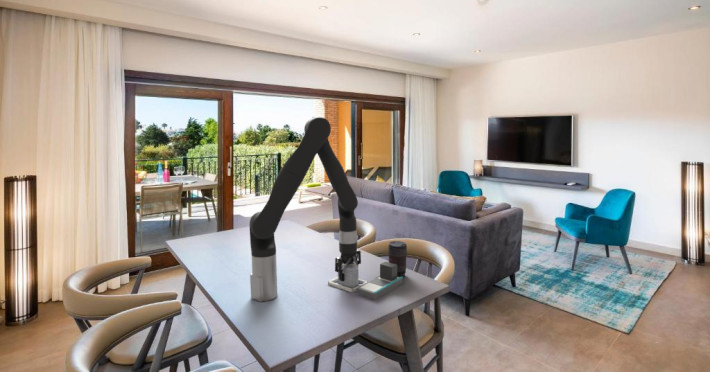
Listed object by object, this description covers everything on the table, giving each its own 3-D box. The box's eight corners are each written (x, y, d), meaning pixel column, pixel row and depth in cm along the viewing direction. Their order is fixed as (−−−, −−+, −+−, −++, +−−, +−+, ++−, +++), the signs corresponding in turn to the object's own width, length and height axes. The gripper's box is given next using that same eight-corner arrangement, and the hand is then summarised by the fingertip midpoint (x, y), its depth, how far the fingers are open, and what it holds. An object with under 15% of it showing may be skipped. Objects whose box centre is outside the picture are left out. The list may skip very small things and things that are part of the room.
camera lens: (385, 277, 162) (385, 244, 160) (392, 271, 169) (392, 239, 167) (402, 280, 158) (403, 247, 156) (408, 274, 165) (409, 242, 163)
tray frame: (352, 292, 146) (352, 290, 146) (327, 284, 154) (327, 281, 154) (368, 284, 154) (368, 281, 154) (344, 276, 162) (344, 274, 162)
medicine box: (358, 284, 154) (358, 265, 153) (353, 288, 150) (353, 268, 149) (343, 280, 158) (343, 261, 157) (337, 284, 154) (337, 264, 153)
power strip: (375, 300, 139) (375, 278, 138) (356, 293, 145) (356, 273, 144) (402, 283, 155) (402, 264, 154) (384, 278, 160) (385, 259, 159)
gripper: (351, 235, 159) (352, 270, 162) (329, 242, 148) (330, 280, 151) (365, 238, 155) (365, 274, 157) (343, 246, 144) (344, 285, 146)
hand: (348, 277), depth 154 cm, fingers open, 8 cm apart
